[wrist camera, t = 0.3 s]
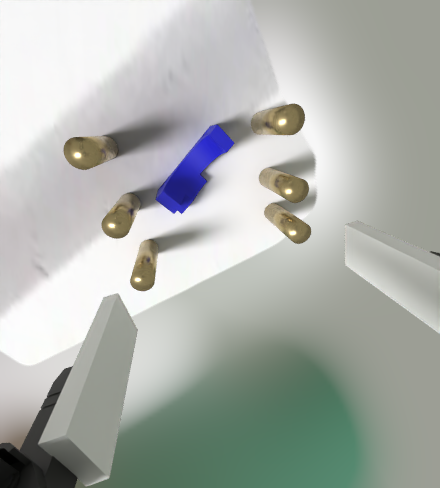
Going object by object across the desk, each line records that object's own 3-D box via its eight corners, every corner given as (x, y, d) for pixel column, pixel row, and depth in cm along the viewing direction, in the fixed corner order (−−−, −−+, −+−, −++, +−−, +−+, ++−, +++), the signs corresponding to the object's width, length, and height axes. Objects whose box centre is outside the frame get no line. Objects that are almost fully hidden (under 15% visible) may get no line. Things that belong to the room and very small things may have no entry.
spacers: (90, 139, 31) (57, 141, 22) (267, 93, 33) (302, 78, 24) (143, 257, 40) (135, 293, 31) (281, 217, 41) (311, 240, 32)
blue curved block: (181, 208, 37) (182, 220, 32) (158, 189, 36) (155, 199, 30) (232, 149, 35) (242, 151, 30) (210, 126, 33) (217, 124, 28)
